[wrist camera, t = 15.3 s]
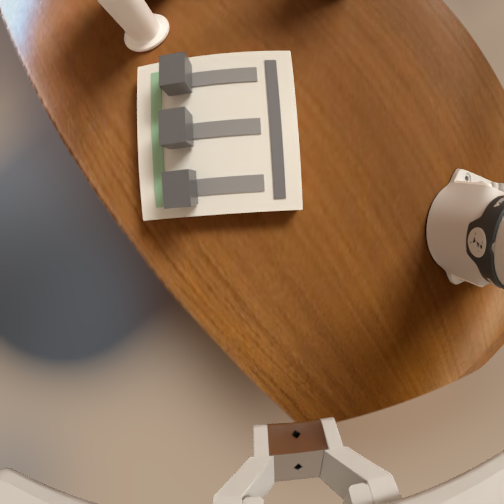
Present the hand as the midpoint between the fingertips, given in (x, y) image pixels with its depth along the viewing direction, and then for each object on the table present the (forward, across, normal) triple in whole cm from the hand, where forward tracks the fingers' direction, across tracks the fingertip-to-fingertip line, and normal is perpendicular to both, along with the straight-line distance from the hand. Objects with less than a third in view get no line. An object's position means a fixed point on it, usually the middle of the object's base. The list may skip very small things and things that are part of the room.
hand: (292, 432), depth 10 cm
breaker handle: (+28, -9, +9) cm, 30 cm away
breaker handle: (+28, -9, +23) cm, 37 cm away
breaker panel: (+31, -5, +16) cm, 35 cm away
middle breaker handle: (+28, -9, +16) cm, 33 cm away
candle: (+31, -15, +34) cm, 49 cm away
